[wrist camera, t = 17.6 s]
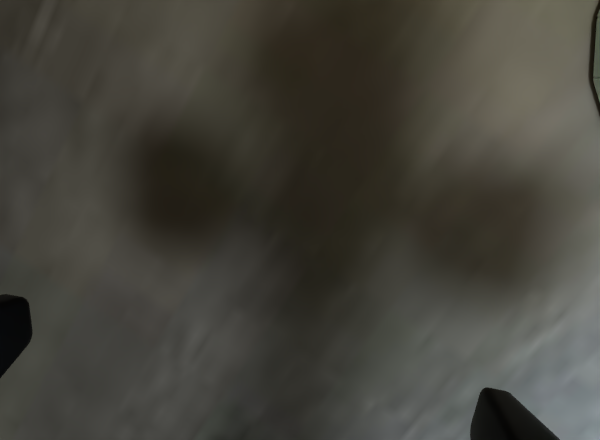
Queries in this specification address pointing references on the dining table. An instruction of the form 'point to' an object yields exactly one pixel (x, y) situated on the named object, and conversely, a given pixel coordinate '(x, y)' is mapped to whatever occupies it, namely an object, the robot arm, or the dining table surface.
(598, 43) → the bowl
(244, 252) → the dining table surface
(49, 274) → the dining table surface
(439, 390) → the dining table surface
